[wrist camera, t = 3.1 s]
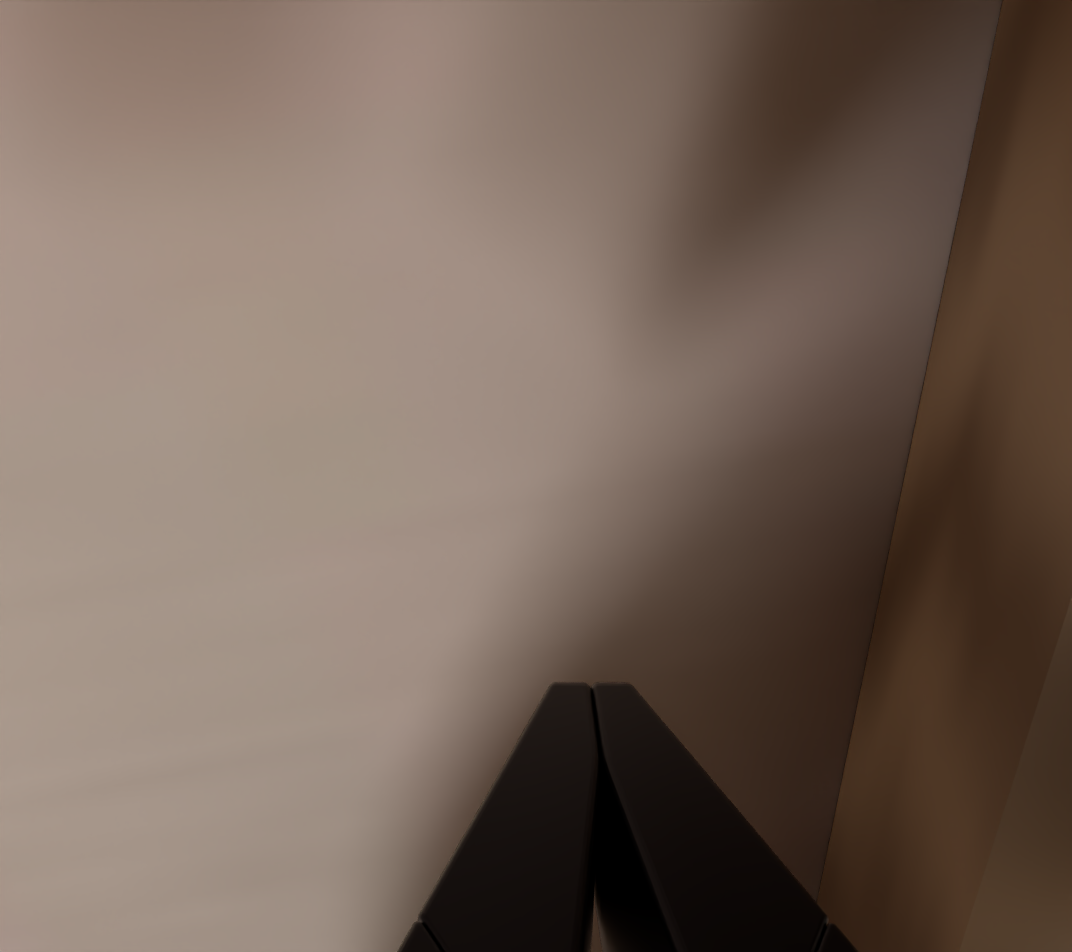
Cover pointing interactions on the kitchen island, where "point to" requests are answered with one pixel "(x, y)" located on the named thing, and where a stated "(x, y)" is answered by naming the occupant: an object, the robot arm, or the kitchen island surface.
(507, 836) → the robot arm
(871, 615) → the kitchen island surface
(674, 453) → the kitchen island surface
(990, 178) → the walnut deck
